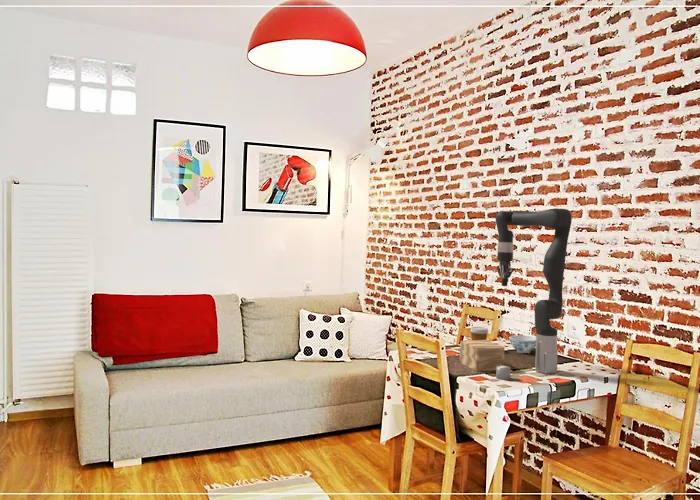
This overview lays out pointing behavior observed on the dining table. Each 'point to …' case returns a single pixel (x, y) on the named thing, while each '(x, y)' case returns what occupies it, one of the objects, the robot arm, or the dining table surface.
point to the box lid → (482, 344)
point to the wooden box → (481, 358)
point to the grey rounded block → (503, 372)
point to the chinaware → (523, 343)
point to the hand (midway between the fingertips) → (504, 285)
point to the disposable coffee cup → (479, 333)
